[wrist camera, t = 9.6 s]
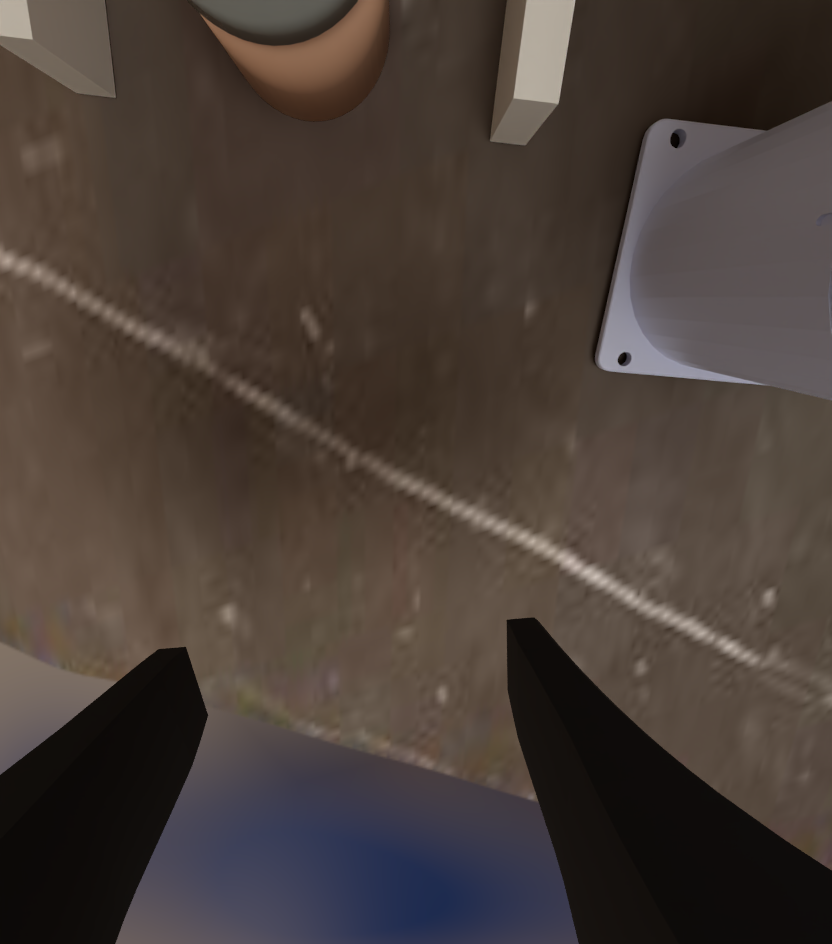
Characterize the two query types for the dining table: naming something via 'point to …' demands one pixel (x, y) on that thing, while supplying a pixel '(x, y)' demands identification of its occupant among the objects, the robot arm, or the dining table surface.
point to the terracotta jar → (304, 50)
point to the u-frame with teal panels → (91, 72)
